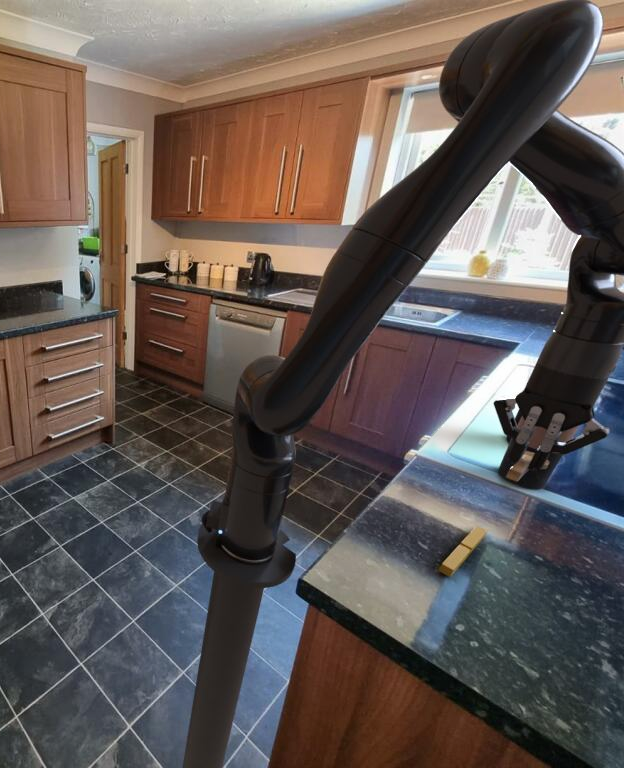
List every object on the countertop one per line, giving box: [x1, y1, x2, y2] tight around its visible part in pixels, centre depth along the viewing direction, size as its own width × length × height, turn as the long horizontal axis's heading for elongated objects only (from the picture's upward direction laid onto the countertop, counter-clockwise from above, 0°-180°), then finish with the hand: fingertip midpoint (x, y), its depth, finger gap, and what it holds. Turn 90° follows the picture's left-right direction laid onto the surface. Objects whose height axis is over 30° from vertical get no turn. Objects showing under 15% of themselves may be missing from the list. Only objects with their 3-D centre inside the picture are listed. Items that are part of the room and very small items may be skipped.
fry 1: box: [438, 543, 471, 578], centre depth 65 cm, size 7×2×2 cm, turn 125°
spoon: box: [506, 451, 549, 482], centre depth 69 cm, size 12×4×2 cm, turn 125°
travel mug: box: [497, 416, 579, 490], centre depth 82 cm, size 8×8×20 cm
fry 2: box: [460, 525, 488, 556], centre depth 69 cm, size 7×2×2 cm, turn 125°
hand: (523, 465), depth 68 cm, fingers closed on spoon, 1 cm apart
